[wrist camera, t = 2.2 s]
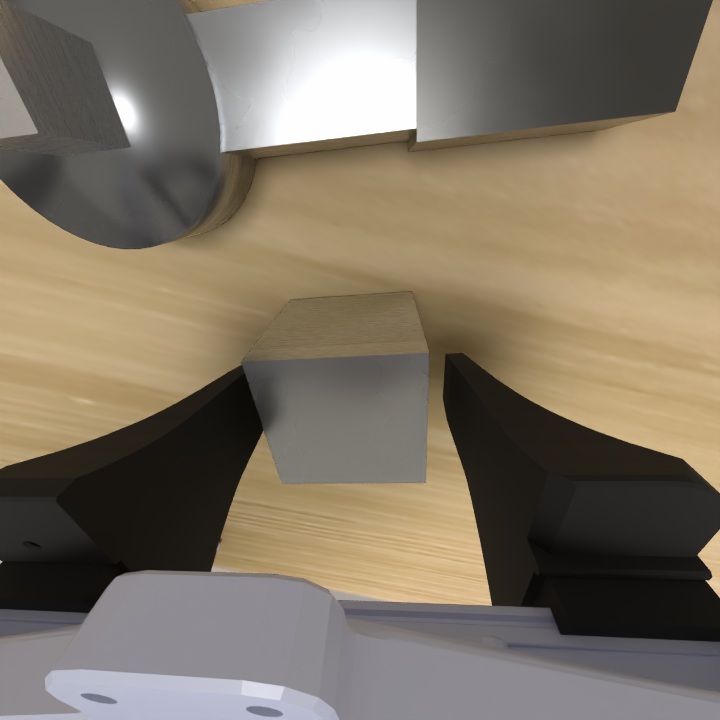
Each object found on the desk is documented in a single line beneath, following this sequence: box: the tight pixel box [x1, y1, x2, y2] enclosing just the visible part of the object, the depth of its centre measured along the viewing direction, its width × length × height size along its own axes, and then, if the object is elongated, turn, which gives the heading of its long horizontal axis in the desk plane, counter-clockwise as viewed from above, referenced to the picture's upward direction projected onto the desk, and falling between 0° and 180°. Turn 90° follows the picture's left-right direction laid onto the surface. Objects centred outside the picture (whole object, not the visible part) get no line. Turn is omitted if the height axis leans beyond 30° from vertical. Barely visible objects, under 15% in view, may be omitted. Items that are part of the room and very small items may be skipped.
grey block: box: [241, 291, 429, 484], centre depth 12 cm, size 5×5×5 cm
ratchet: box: [0, 0, 713, 249], centre depth 7 cm, size 18×7×6 cm, turn 95°
